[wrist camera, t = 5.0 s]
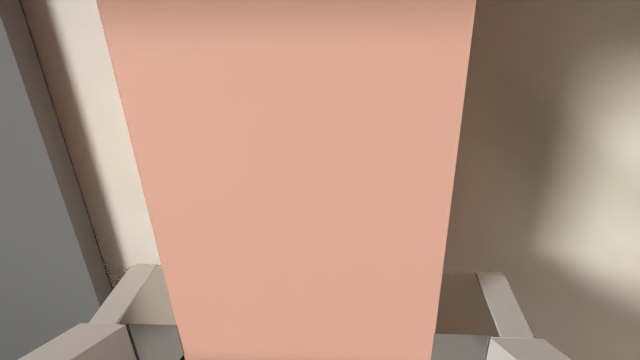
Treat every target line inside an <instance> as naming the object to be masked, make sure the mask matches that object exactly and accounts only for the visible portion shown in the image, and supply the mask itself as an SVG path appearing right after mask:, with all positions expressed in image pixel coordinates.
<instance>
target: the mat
mask: <svg viewBox="0 0 640 360" xmlns="http://www.w3.org/2000/svg"><path fill="white" fill-rule="evenodd" d="M111 292H112V289H111V286H110V282H109V279H108V276H107V273H106V270H105V267H104V264H103V261H102V257H101V254H100V251H99V248H98V245H97V242H96V239H95V235H94V232H93V229H92V226H91V223H90V220H89V217H88V214H87V210H86V207H85V204H84V201H83V198H82V195H81V192H80V189H79V185H78V182H77V179H76V176H75V173H74V170H73V167H72V163H71V160H70V157H69V154H68V151H67V148H66V145H65V142H64V138H63V135H62V132H61V129H60V126H59V123H58V120H57V116H56V113H55V110H54V107H53V104H52V101H51V98H50V95H49V91H48V88H47V85H46V82H45V79H44V76H43V73H42V70H41V66H40V63H39V60H38V57H37V54H36V51H35V48H34V44H33V41H32V38H31V35H30V32H29V29H28V26H27V23H26V19H25V16H24V13H23V10H22V7H21V4H20V1H19V0H0V360H18V359H20V358H22V357H23V356H25V355H27V354H29V353H30V352H32V351H34V350H35V349H37V348H39V347H41V346H42V345H44V344H46V343H47V342H49V341H51V340H52V339H54V338H56V337H58V336H59V335H61V334H63V333H64V332H66V331H68V330H70V329H71V328H73V327H75V326H76V325H78V324H80V323H89V322H90V320H91V319H92V318H93V316H94V315H95V314H96V312H97V311H98V310H99V308H100V307H101V306H102V304H103V303H104V301H105V300H106V299H107V297H108V296H109V295H110V293H111Z"/></svg>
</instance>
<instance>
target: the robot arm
mask: <svg viewBox="0 0 640 360" xmlns="http://www.w3.org/2000/svg"><path fill="white" fill-rule="evenodd" d="M18 360H185V358H184V351H183V348H182V344H181V340H180V336H179V333H178V329H177V325H176V321H175V317H174V313H173V309H172V305H171V301H170V297H169V293H168V289H167V285H166V281H165V277H164V272H163V268H162V265H150V264H136V265H133V266H131V267H130V268H129V269H128V270H127V272H126V273H125V274H124V276H123V277H122V278H121V280H120V281H119V282H118V284H117V285H116V287H115V288H114V289H113V291H112V292H111V293H110V295H109V296H108V297H107V299H106V300H105V301H104V303H103V304H102V306H101V307H100V308H99V310H98V311H97V312H96V314H95V315H94V316H93V318H92V319H91V320H90V322H89V323H80V324H78V325H76V326H75V327H73V328H71V329H70V330H68V331H66V332H64V333H63V334H61V335H59V336H58V337H56V338H54V339H52V340H51V341H49V342H47V343H46V344H44V345H42V346H41V347H39V348H37V349H35V350H34V351H32V352H30V353H29V354H27V355H25V356H23V357H22V358H20V359H18ZM431 360H572V359H570V358H569V357H568V356H566V355H565V354H564V353H562V352H561V351H559V350H558V349H557V348H555V347H554V346H553V345H551V344H550V343H549V342H547V341H546V340H545V339H539V338H534V336H533V334H532V332H531V330H530V328H529V325H528V323H527V321H526V319H525V317H524V315H523V313H522V311H521V308H520V306H519V304H518V302H517V300H516V298H515V296H514V294H513V291H512V289H511V287H510V285H509V283H508V281H507V279H506V277H505V275H504V274H503V273H502V272H500V271H489V272H473V273H472V272H443V273H442V281H441V289H440V297H439V305H438V313H437V321H436V329H435V333H434V336H433V344H432V352H431Z"/></svg>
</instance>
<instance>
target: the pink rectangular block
mask: <svg viewBox="0 0 640 360" xmlns="http://www.w3.org/2000/svg"><path fill="white" fill-rule="evenodd" d="M96 1H97V5H98V9H99V13H100V17H101V21H102V25H103V29H104V33H105V37H106V41H107V45H108V49H109V54H110V58H111V62H112V66H113V70H114V74H115V78H116V82H117V86H118V90H119V94H120V98H121V102H122V106H123V110H124V114H125V118H126V122H127V126H128V131H129V135H130V139H131V143H132V147H133V151H134V155H135V159H136V163H137V167H138V171H139V175H140V179H141V183H142V187H143V191H144V195H145V199H146V204H147V208H148V212H149V216H150V220H151V224H152V228H153V232H154V236H155V240H156V244H157V248H158V252H159V256H160V260H161V264H162V268H163V272H164V277H165V281H166V285H167V289H168V293H169V297H170V301H171V305H172V309H173V313H174V317H175V321H176V325H177V329H178V333H179V336H180V340H181V344H182V348H183V351H184V358H185V360H431V352H432V344H433V336H434V333H435V329H436V321H437V313H438V305H439V297H440V289H441V281H442V273H443V265H444V257H445V249H446V241H447V233H448V225H449V216H450V208H451V200H452V192H453V184H454V176H455V168H456V160H457V152H458V144H459V136H460V128H461V120H462V112H463V104H464V96H465V88H466V80H467V72H468V64H469V56H470V48H471V40H472V32H473V24H474V16H475V8H476V0H96Z"/></svg>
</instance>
